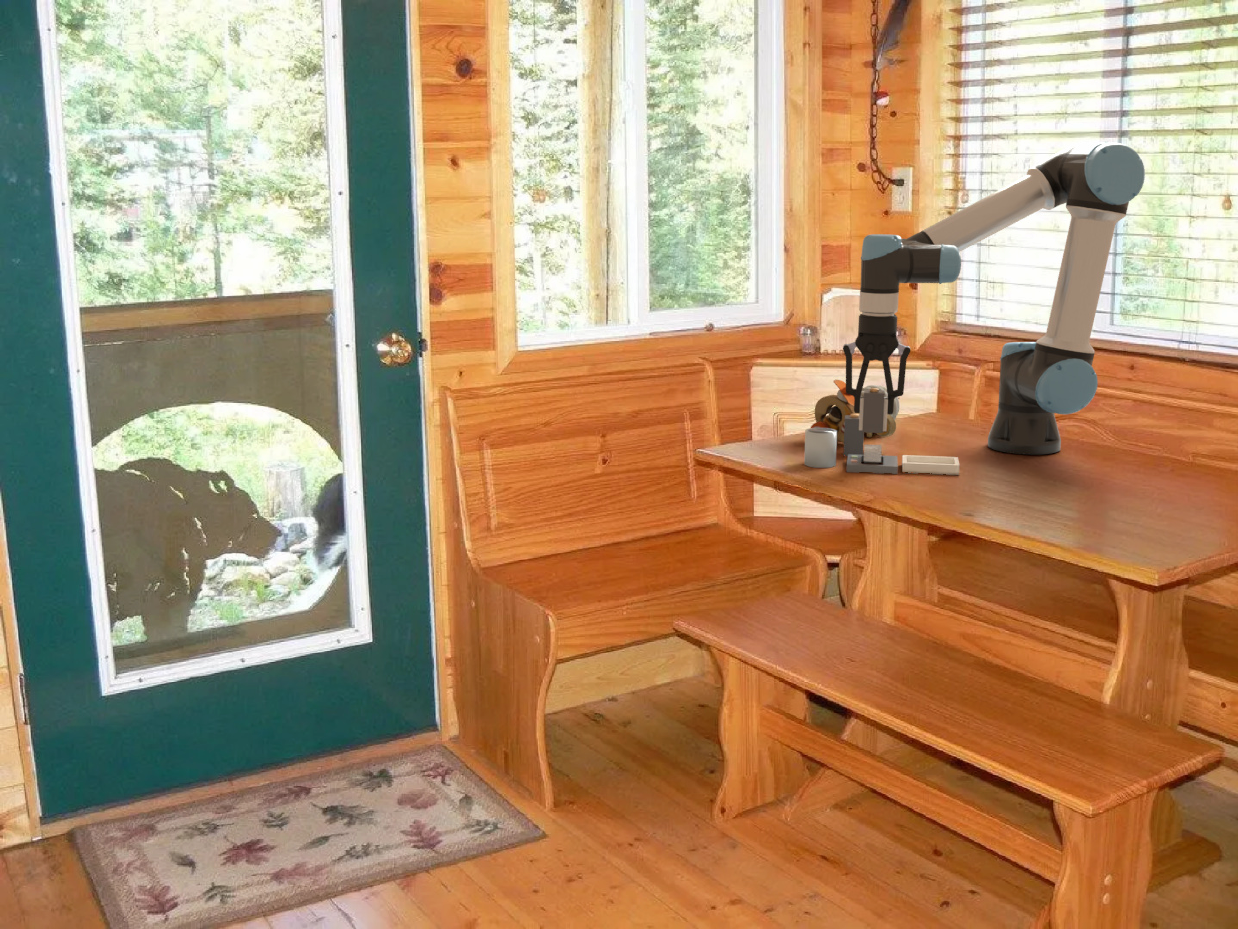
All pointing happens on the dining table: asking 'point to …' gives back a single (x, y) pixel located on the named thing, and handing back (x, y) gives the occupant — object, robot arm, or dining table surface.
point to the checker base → (888, 465)
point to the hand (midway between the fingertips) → (872, 429)
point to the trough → (930, 464)
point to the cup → (820, 447)
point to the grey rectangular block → (872, 453)
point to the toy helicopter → (841, 412)
